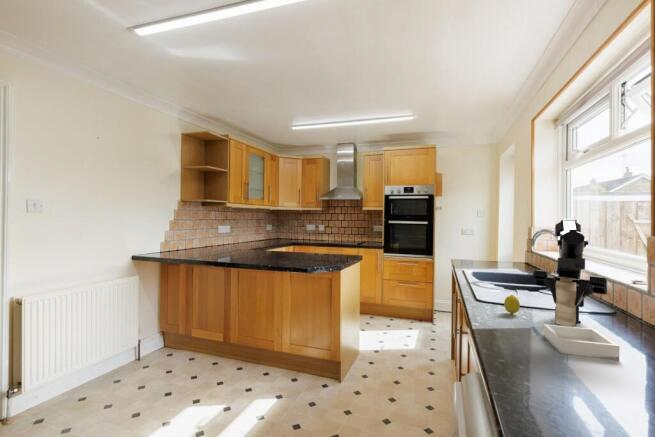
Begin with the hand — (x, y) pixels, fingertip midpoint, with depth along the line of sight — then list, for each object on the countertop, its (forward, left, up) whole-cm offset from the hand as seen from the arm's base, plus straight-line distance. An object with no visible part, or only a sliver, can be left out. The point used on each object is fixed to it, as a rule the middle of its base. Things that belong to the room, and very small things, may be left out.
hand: (565, 303), depth 97 cm
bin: (-4, -1, -13) cm, 14 cm away
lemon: (+7, -31, -14) cm, 34 cm away
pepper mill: (-1, -1, -7) cm, 7 cm away
